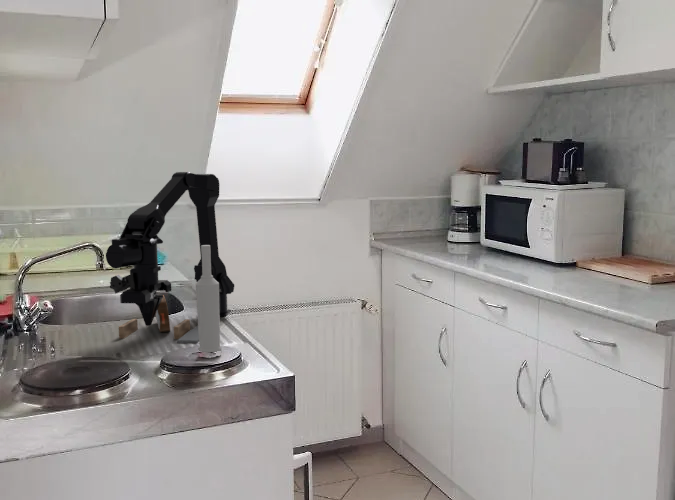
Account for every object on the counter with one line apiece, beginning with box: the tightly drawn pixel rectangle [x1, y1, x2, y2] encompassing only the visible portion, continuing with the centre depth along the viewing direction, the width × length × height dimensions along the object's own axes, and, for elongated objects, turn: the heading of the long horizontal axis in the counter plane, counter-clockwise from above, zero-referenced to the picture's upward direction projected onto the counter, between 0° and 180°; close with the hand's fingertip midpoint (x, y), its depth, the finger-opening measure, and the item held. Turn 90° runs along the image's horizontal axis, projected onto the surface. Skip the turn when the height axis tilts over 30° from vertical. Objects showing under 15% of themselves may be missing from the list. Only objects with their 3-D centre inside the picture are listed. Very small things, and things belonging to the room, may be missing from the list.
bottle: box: [195, 245, 222, 352], centre depth 156 cm, size 5×5×25 cm
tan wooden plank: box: [118, 318, 191, 340], centre depth 178 cm, size 9×15×3 cm, turn 84°
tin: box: [155, 294, 171, 333], centre depth 184 cm, size 15×3×8 cm, turn 18°
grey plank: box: [176, 324, 199, 344], centre depth 177 cm, size 16×5×1 cm, turn 174°
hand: (148, 325), depth 174 cm, fingers closed
